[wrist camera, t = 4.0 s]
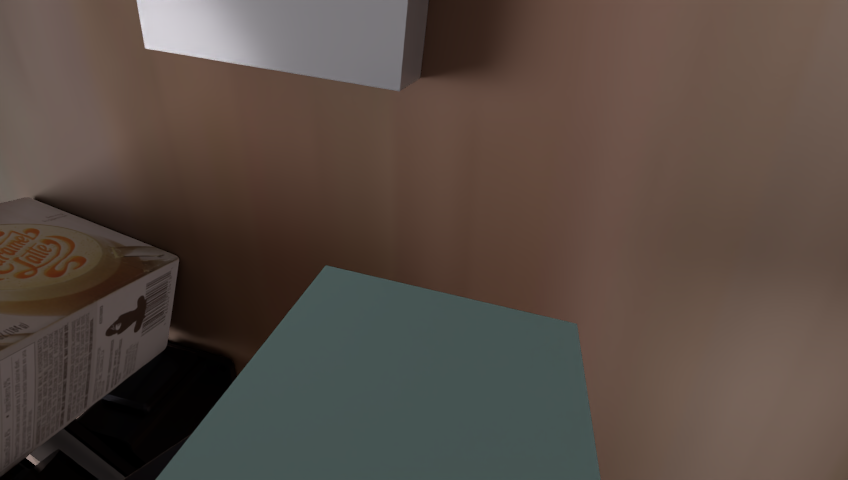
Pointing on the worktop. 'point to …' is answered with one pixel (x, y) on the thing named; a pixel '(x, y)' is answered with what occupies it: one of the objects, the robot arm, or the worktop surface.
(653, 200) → the worktop surface
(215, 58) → the stone plinth
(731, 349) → the worktop surface
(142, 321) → the coffee box
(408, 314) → the teal cube
